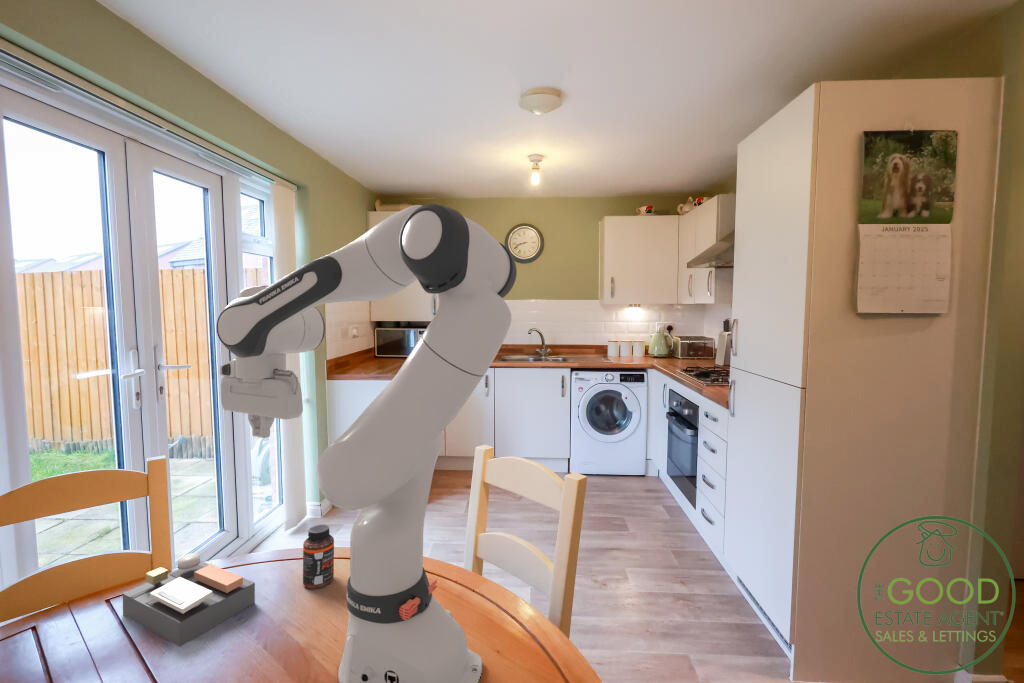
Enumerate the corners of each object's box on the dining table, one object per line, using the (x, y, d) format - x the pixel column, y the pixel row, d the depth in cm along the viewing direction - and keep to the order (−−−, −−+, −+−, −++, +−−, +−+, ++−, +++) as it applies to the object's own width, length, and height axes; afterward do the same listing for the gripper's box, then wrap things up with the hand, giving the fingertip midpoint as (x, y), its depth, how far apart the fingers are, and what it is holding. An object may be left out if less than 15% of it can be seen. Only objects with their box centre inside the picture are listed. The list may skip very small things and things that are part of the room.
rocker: (213, 597, 78) (212, 590, 78) (183, 615, 74) (182, 608, 73) (180, 582, 82) (179, 576, 82) (150, 599, 78) (149, 592, 78)
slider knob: (168, 583, 83) (167, 570, 83) (153, 589, 81) (153, 576, 81) (160, 579, 84) (160, 567, 84) (146, 586, 82) (146, 573, 82)
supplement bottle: (326, 590, 89) (326, 535, 88) (297, 590, 89) (297, 534, 89) (338, 574, 95) (338, 522, 94) (311, 573, 95) (311, 521, 95)
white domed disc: (204, 562, 89) (204, 555, 88) (184, 571, 85) (184, 564, 85) (193, 558, 90) (193, 551, 90) (173, 566, 87) (173, 559, 87)
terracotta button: (242, 584, 83) (242, 577, 83) (226, 593, 80) (226, 585, 80) (210, 571, 87) (210, 564, 87) (194, 578, 84) (194, 571, 84)
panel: (255, 603, 84) (255, 582, 84) (179, 646, 73) (179, 622, 73) (199, 578, 92) (198, 559, 92) (122, 614, 81) (122, 592, 80)
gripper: (311, 369, 86) (311, 439, 86) (244, 364, 95) (244, 428, 95) (282, 372, 80) (282, 447, 81) (214, 366, 89) (214, 434, 90)
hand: (261, 436), depth 88 cm, fingers closed
